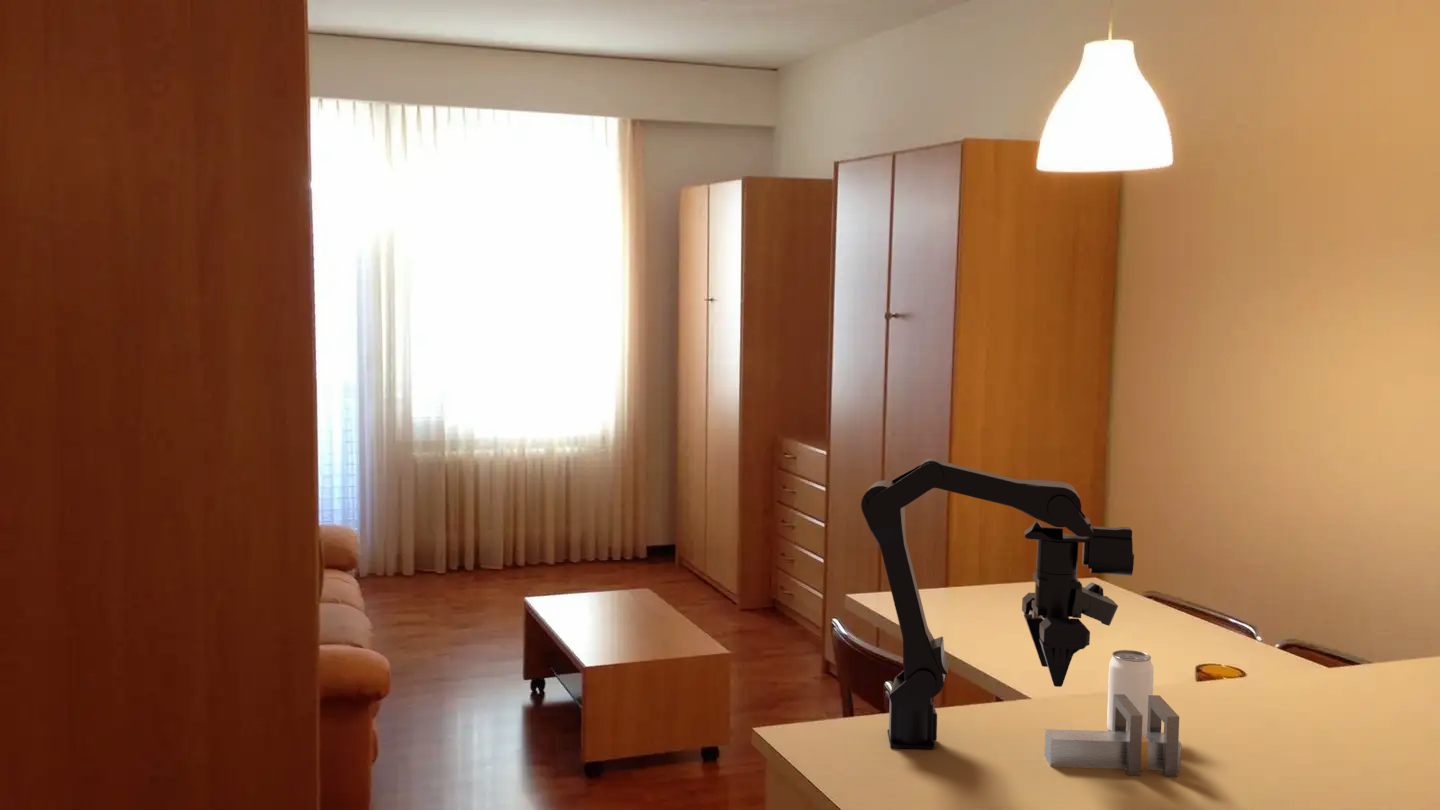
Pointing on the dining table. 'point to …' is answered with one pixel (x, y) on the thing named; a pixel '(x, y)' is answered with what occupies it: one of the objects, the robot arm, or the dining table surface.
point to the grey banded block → (1101, 749)
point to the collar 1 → (1129, 731)
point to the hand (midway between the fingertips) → (1051, 676)
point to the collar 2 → (1165, 731)
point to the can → (1130, 682)
